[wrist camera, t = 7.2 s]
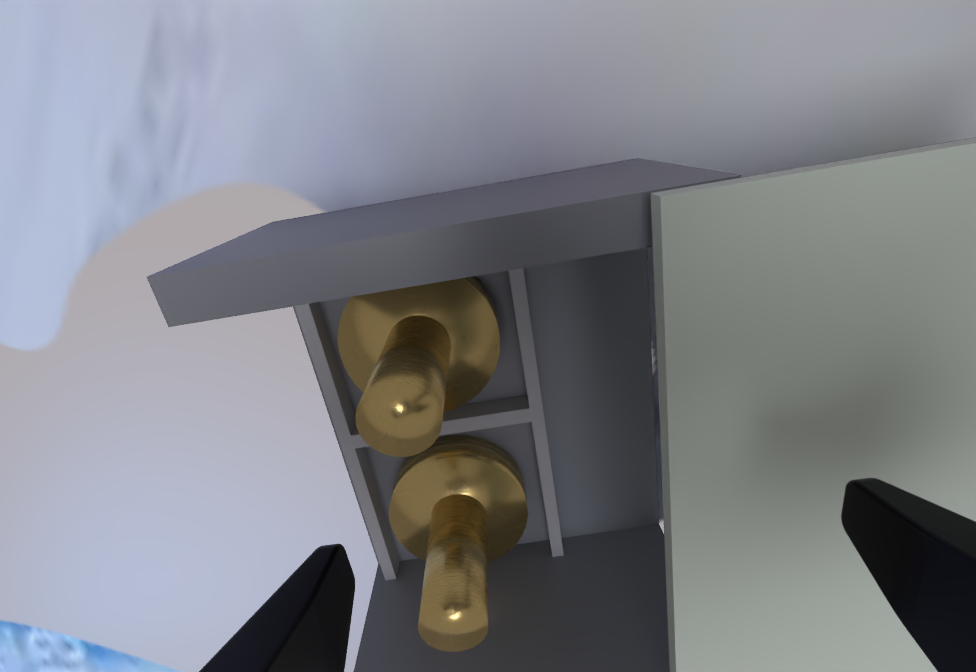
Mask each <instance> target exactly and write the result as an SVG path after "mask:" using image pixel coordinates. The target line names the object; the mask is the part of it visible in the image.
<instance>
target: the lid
mask: <svg viewBox="0 0 976 672" xmlns="http://www.w3.org/2000/svg"><path fill="white" fill-rule="evenodd" d="M651 216H652V241H653V266H654V291H655V316H656V341H657V366H658V391H659V416H660V441H661V466H662V491H663V516H664V541H665V566H666V591H667V616H668V641H669V665H670V672H938V671H937V670H936V669H935V667H934V666H933V664H932V663H931V662H930V660H929V659H928V658H927V656H926V655H925V654H924V652H923V651H922V650H921V648H920V647H919V646H918V644H917V643H916V642H915V640H914V639H913V637H912V636H911V635H910V633H909V632H908V631H907V629H906V628H905V626H904V625H903V624H902V622H901V621H900V619H899V618H898V617H897V615H896V613H895V612H894V610H893V609H892V607H891V606H890V604H889V603H888V601H887V599H886V598H885V596H884V594H883V593H882V591H881V590H880V588H879V586H878V585H877V583H876V581H875V580H874V578H873V576H872V575H871V573H870V571H869V570H868V568H867V567H866V565H865V563H864V562H863V560H862V558H861V557H860V555H859V553H858V552H857V550H856V548H855V547H854V545H853V544H852V542H851V540H850V539H849V537H848V535H847V534H846V532H845V530H844V528H843V525H842V521H841V512H842V506H843V500H844V493H845V487H846V484H847V483H848V482H849V481H851V480H855V479H863V478H877V479H880V480H882V481H884V482H887V483H889V484H891V485H893V486H896V487H898V488H900V489H903V490H905V491H907V492H909V493H912V494H914V495H916V496H919V497H921V498H923V499H925V500H928V501H930V502H932V503H935V504H937V505H939V506H941V507H944V508H946V509H948V510H951V511H953V512H955V513H957V514H960V515H962V516H964V517H967V518H969V519H971V520H973V521H976V138H970V139H964V140H958V141H953V142H947V143H941V144H935V145H929V146H923V147H917V148H912V149H906V150H900V151H894V152H888V153H882V154H877V155H871V156H865V157H859V158H853V159H847V160H841V161H836V162H830V163H824V164H818V165H812V166H806V167H800V168H795V169H789V170H783V171H777V172H771V173H765V174H760V175H754V176H748V177H742V178H736V179H730V180H724V181H719V182H713V183H707V184H701V185H695V186H689V187H683V188H678V189H672V190H666V191H660V192H654V193H651Z"/></svg>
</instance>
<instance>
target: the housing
mask: <svg viewBox="0 0 976 672" xmlns="http://www.w3.org/2000/svg"><path fill="white" fill-rule="evenodd" d="M736 178H741V175H736V174H730V173H724V172H718V171H712V170H705V169H699V168H693V167H687V166H681V165H675V164H669V163H662V162H656V161H650V160H644V159H638V158H637V159H631V160H626V161H620V162H614V163H608V164H603V165H597V166H591V167H585V168H580V169H574V170H568V171H562V172H557V173H551V174H545V175H539V176H534V177H528V178H522V179H516V180H511V181H505V182H499V183H494V184H488V185H482V186H476V187H471V188H465V189H459V190H453V191H448V192H442V193H436V194H430V195H425V196H419V197H413V198H407V199H402V200H396V201H390V202H384V203H379V204H373V205H367V206H361V207H356V208H350V209H344V210H339V211H333V212H327V213H321V214H316V215H310V216H304V217H298V218H293V219H287V220H281V221H275V222H272V223H269V224H267V225H265V226H262V227H260V228H258V229H256V230H253V231H251V232H248V233H246V234H244V235H242V236H239V237H237V238H235V239H233V240H230V241H228V242H226V243H223V244H221V245H219V246H216V247H214V248H212V249H210V250H207V251H205V252H203V253H200V254H198V255H196V256H194V257H191V258H189V259H187V260H184V261H182V262H180V263H178V264H175V265H173V266H171V267H168V268H166V269H164V270H162V271H160V272H157V273H155V274H152V275H150V276H148V277H147V279H148V281H149V283H150V286H151V288H152V290H153V292H154V295H155V297H156V299H157V302H158V304H159V306H160V308H161V311H162V313H163V315H164V318H165V319H166V322H167V324H168V327H171V326H177V325H184V324H190V323H195V322H202V321H207V320H213V319H219V318H225V317H231V316H237V315H244V314H250V313H255V312H262V311H268V310H274V309H279V308H286V307H292V306H293V308H294V311H295V314H296V317H297V320H298V323H299V326H300V329H301V332H302V335H303V338H304V341H305V344H306V347H307V350H308V353H309V356H310V359H311V362H312V365H313V368H314V371H315V374H316V377H317V380H318V383H319V386H320V389H321V392H322V395H323V398H324V401H325V404H326V407H327V410H328V413H329V416H330V419H331V422H332V425H333V428H334V432H335V434H336V437H337V440H338V444H339V446H340V450H341V452H342V456H343V459H344V462H345V464H346V468H347V471H348V473H349V477H350V480H351V483H352V486H353V489H354V492H355V495H356V498H357V501H358V504H359V507H360V510H361V513H362V516H363V519H364V522H365V525H366V528H367V531H368V534H369V536H370V540H371V543H372V546H373V548H374V552H375V555H376V558H377V561H378V568H377V573H376V577H375V581H374V586H373V590H372V594H371V599H370V604H369V608H368V612H367V616H366V621H365V625H364V629H363V634H362V638H361V643H360V647H359V651H358V656H357V660H356V665H355V669H354V672H670V665H669V641H668V616H667V591H666V566H665V541H664V534H663V532H662V530H661V527H660V525H659V512H658V490H657V467H656V445H655V422H654V400H653V378H652V355H651V333H650V311H649V288H648V266H647V247H653V241H652V216H651V193H654V192H660V191H666V190H672V189H678V188H683V187H689V186H695V185H701V184H707V183H713V182H719V181H724V180H730V179H736ZM472 276H475V277H476V278H477V279H478V280H479V281H480V282H481V283H482V284H483V285H484V287H485V288H486V289H487V291H488V293H489V295H490V296H491V298H492V300H493V303H494V305H495V308H496V312H497V317H498V326H499V335H500V353H499V358H498V363H497V365H496V368H495V371H494V373H493V375H492V377H491V379H490V380H489V382H488V383H487V385H486V386H485V387H484V388H483V389H482V390H481V392H480V393H479V394H477V395H476V396H475V397H474V398H473V399H472V400H470V401H468V402H467V403H465V404H464V405H462V406H460V407H458V408H456V409H453V410H450V411H447V412H443V418H442V426H441V431H440V434H439V436H438V438H440V437H444V436H451V435H468V436H475V437H479V438H483V439H485V440H488V441H491V442H493V443H495V444H497V445H498V446H500V447H501V448H503V449H504V450H505V451H507V452H508V453H509V454H510V455H511V456H512V457H513V459H514V460H515V461H516V463H517V464H518V466H519V467H520V470H521V472H522V475H523V479H524V485H525V493H526V500H527V508H528V519H527V524H526V528H525V530H524V533H523V535H522V536H521V538H520V540H519V541H518V542H517V543H516V545H515V546H514V547H513V548H512V549H511V550H510V551H509V552H507V553H506V554H504V555H503V556H501V557H500V558H498V559H496V560H494V561H492V562H489V563H487V587H488V632H487V635H486V637H485V638H484V639H483V641H482V642H481V643H479V644H478V645H477V646H475V647H473V648H471V649H468V650H464V651H458V652H449V651H442V650H439V649H436V648H434V647H432V646H430V645H428V644H427V643H426V642H425V641H424V640H423V639H422V638H421V636H420V634H419V631H418V622H419V614H420V605H421V597H422V589H423V580H424V572H425V564H426V561H424V560H421V559H420V558H418V557H416V556H414V555H413V554H412V553H410V552H409V551H408V550H407V549H406V548H405V547H403V546H402V544H401V543H400V542H399V541H398V539H397V538H396V536H395V534H394V532H393V530H392V527H391V524H390V520H389V507H390V502H391V497H392V493H393V489H394V485H395V480H396V477H397V473H398V470H399V468H400V466H401V464H402V463H403V461H404V460H405V459H406V458H407V457H395V456H390V455H386V454H383V453H380V452H378V451H376V450H375V449H373V448H372V447H370V446H369V445H368V444H367V443H366V442H365V441H364V440H363V438H362V437H361V435H360V434H359V432H358V429H357V426H356V420H355V416H356V410H357V407H358V404H359V402H360V400H361V397H362V395H363V392H362V391H361V390H360V389H359V388H358V387H357V386H356V384H355V383H354V382H353V380H352V379H351V378H350V376H349V375H348V373H347V371H346V369H345V367H344V365H343V362H342V360H341V356H340V352H339V347H338V328H339V323H340V319H341V316H342V313H343V310H344V308H345V306H346V305H347V303H348V301H349V300H350V298H351V297H352V296H358V295H364V294H370V293H376V292H382V291H388V290H394V289H400V288H406V287H412V286H418V285H424V284H430V283H436V282H442V281H448V280H454V279H460V278H466V277H472Z"/></svg>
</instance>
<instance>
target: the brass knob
mask: <svg viewBox="0 0 976 672" xmlns="http://www.w3.org/2000/svg"><path fill="white" fill-rule="evenodd" d="M527 519H528V508H527V500H526V493H525V485H524V479H523V475H522V472H521V470H520V467H519V466H518V464H517V463H516V461H515V460H514V459H513V457H512V456H511V455H510V454H509V453H508V452H507V451H505V450H504V449H503V448H501V447H500V446H498V445H497V444H495V443H493V442H491V441H488V440H485V439H483V438H479V437H475V436H468V435H451V436H444V437H440V438H437V439H436V441H435V442H434V443H433V444H432V445H431V446H430V447H429V448H428V449H426V450H425V451H423V452H421V453H419V454H416V455H412V456H407V458H406V459H405V460H404V461H403V463H402V464H401V466H400V468H399V470H398V473H397V477H396V480H395V485H394V489H393V493H392V497H391V502H390V507H389V520H390V524H391V527H392V530H393V532H394V534H395V536H396V538H397V539H398V541H399V542H400V543H401V544H402V546H403V547H405V548H406V549H407V550H408V551H409V552H410V553H412V554H413V555H414V556H416V557H418V558H420V559H421V560H424V561H426V564H425V572H424V580H423V589H422V597H421V605H420V614H419V622H418V631H419V634H420V636H421V638H422V639H423V640H424V641H425V642H426V643H427V644H428V645H430V646H432V647H434V648H436V649H439V650H442V651H449V652H458V651H464V650H468V649H471V648H473V647H475V646H477V645H478V644H479V643H481V642H482V641H483V639H484V638H485V637H486V635H487V632H488V587H487V563H489V562H492V561H494V560H496V559H498V558H500V557H501V556H503V555H504V554H506V553H507V552H509V551H510V550H511V549H512V548H513V547H514V546H515V545H516V543H517V542H518V541H519V540H520V538H521V536H522V535H523V533H524V530H525V528H526V524H527Z"/></svg>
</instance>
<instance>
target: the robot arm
mask: <svg viewBox="0 0 976 672" xmlns="http://www.w3.org/2000/svg"><path fill="white" fill-rule="evenodd" d="M841 521H842V525H843V528H844V530H845V532H846V534H847V535H848V537H849V539H850V540H851V542H852V544H853V545H854V547H855V548H856V550H857V552H858V553H859V555H860V557H861V558H862V560H863V562H864V563H865V565H866V567H867V568H868V570H869V571H870V573H871V575H872V576H873V578H874V580H875V581H876V583H877V585H878V586H879V588H880V590H881V591H882V593H883V594H884V596H885V598H886V599H887V601H888V603H889V604H890V606H891V607H892V609H893V610H894V612H895V613H896V615H897V617H898V618H899V619H900V621H901V622H902V624H903V625H904V626H905V628H906V629H907V631H908V632H909V633H910V635H911V636H912V637H913V639H914V640H915V642H916V643H917V644H918V646H919V647H920V648H921V650H922V651H923V652H924V654H925V655H926V656H927V658H928V659H929V660H930V662H931V663H932V664H933V666H934V667H935V669H936V670H937V671H938V672H976V521H973V520H971V519H969V518H967V517H964V516H962V515H960V514H957V513H955V512H953V511H951V510H948V509H946V508H944V507H941V506H939V505H937V504H935V503H932V502H930V501H928V500H925V499H923V498H921V497H919V496H916V495H914V494H912V493H909V492H907V491H905V490H903V489H900V488H898V487H896V486H893V485H891V484H889V483H887V482H884V481H882V480H880V479H877V478H863V479H855V480H851V481H849V482H848V483H847V484H846V487H845V493H844V500H843V506H842V512H841ZM354 592H355V578H354V574H353V571H352V568H351V565H350V563H349V560H348V557H347V554H346V551H345V549H344V547H343V546H342V545H341V544H333V545H325V546H321V547H319V548H317V549H316V550H315V551H314V552H313V553H312V554H311V555H310V556H309V557H308V558H307V559H306V560H305V561H304V563H303V564H302V565H301V566H300V567H299V568H298V569H297V570H296V571H295V572H294V573H293V574H292V575H291V576H290V577H289V578H288V579H287V580H286V582H284V584H283V585H282V586H281V587H280V588H279V589H278V590H277V591H276V592H275V593H274V594H273V595H272V596H271V597H270V598H269V599H268V600H267V601H266V602H265V603H264V604H263V605H262V606H261V608H260V609H259V610H258V611H257V612H256V613H255V614H254V615H253V616H252V617H251V618H250V619H249V620H248V621H247V622H246V623H245V624H244V625H243V626H242V627H241V628H240V629H239V630H238V632H237V633H236V634H235V635H234V636H233V637H232V638H231V639H230V640H229V641H228V642H227V643H226V644H225V645H224V646H223V647H222V648H221V649H220V650H219V651H218V653H217V654H216V655H215V656H214V657H213V658H212V659H211V660H210V661H209V662H208V663H207V664H206V665H205V666H204V667H203V668H202V669H201V670H200V671H199V672H344V668H345V661H346V653H347V646H348V638H349V631H350V623H351V615H352V608H353V600H354Z"/></svg>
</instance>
